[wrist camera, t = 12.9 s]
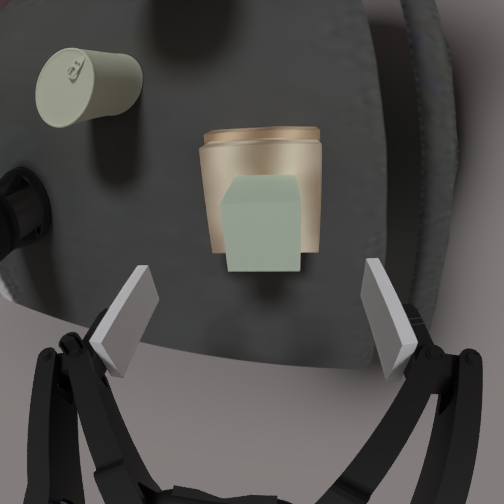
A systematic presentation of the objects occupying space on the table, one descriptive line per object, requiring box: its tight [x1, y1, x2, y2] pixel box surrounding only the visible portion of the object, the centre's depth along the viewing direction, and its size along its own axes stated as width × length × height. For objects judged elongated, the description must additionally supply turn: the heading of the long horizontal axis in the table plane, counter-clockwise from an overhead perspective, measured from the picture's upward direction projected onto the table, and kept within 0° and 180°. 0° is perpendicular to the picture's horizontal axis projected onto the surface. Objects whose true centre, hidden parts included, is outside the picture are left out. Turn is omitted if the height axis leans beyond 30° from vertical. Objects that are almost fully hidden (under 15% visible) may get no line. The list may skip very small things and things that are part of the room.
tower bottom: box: [204, 126, 320, 144], centre depth 35 cm, size 13×13×4 cm
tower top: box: [199, 138, 322, 253], centre depth 31 cm, size 12×12×4 cm
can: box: [36, 48, 143, 128], centre depth 25 cm, size 9×9×12 cm
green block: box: [220, 174, 301, 271], centre depth 26 cm, size 6×6×8 cm
